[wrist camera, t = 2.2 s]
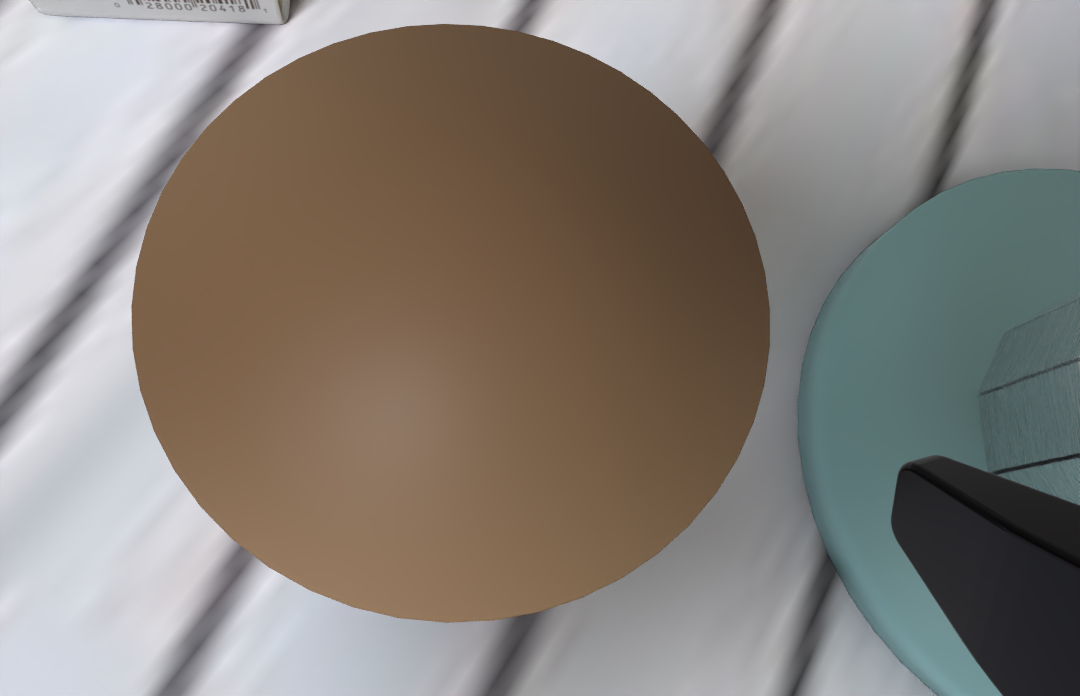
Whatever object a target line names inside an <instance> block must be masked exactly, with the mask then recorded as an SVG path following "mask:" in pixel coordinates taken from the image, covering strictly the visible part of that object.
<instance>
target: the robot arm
mask: <svg viewBox="0 0 1080 696" xmlns="http://www.w3.org/2000/svg"><path fill="white" fill-rule="evenodd" d="M891 527H892V531H893V534H894V536H895V538H896V540H897V542H898V544H899V545H900V547H901V549H902V550H903V552H904V553H905V555H906V556H907V558H908V559H909V561H910V562H911V564H912V565H913V567H914V568H915V570H916V572H917V573H918V575H919V576H920V578H921V579H922V581H923V582H924V584H925V585H926V587H927V588H928V590H929V592H930V593H931V595H932V596H933V598H934V599H935V601H936V602H937V604H938V605H939V607H940V608H941V610H942V611H943V613H944V615H945V616H946V618H947V619H948V621H949V622H950V624H951V625H952V627H953V628H954V630H955V631H956V633H957V634H958V636H959V638H960V639H961V641H962V642H963V644H964V645H965V646H966V648H967V649H968V651H969V652H970V654H971V655H972V656H973V658H974V659H975V661H976V662H977V663H978V665H979V666H980V667H981V669H982V670H983V671H984V673H985V674H986V675H987V677H988V678H989V679H990V681H991V682H992V683H993V684H994V686H995V687H996V688H997V689H998V691H999V692H1000V693H1001V695H1002V696H1080V505H1078V504H1075V503H1073V502H1070V501H1067V500H1064V499H1062V498H1059V497H1056V496H1053V495H1050V494H1048V493H1045V492H1042V491H1039V490H1037V489H1034V488H1031V487H1028V486H1025V485H1023V484H1020V483H1017V482H1014V481H1012V480H1009V479H1006V478H1003V477H1000V476H998V475H995V474H992V473H989V472H987V471H984V470H981V469H978V468H975V467H973V466H970V465H967V464H964V463H962V462H959V461H956V460H953V459H950V458H948V457H944V456H941V455H931V456H928V457H924V458H921V459H917V460H914V461H910V462H907V463H905V464H903V465H902V467H901V468H900V470H899V472H898V475H897V481H896V488H895V494H894V500H893V506H892V513H891Z"/></svg>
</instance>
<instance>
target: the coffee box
mask: <svg viewBox="0 0 1080 696" xmlns="http://www.w3.org/2000/svg"><path fill="white" fill-rule="evenodd" d="M29 1H30V2H31V3H32V5H33V6H34V7H35V8H36V9H37V10H38V11H39V12H40V13H43V14H46V15H58V16H78V17H103V18H127V19H151V20H176V21H202V22H231V23H254V24H275V25H278V24H284V23H285V22H286V21H287V19H288V15H289V9H290V0H29Z"/></svg>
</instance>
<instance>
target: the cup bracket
mask: <svg viewBox="0 0 1080 696" xmlns="http://www.w3.org/2000/svg"><path fill="white" fill-rule="evenodd" d="M798 442H799V449H800V456H801V464H802V471H803V478H804V482H805V486H806V490H807V493H808V497H809V501H810V505H811V509H812V513H813V517H814V519H815V522H816V524H817V527H818V529H819V532H820V535H821V537H822V540H823V542H824V545H825V547H826V550H827V553H828V555H829V557H830V559H831V561H832V563H833V565H834V567H835V569H836V570H837V572H838V574H839V576H840V578H841V580H842V582H843V584H844V586H845V588H846V589H847V591H848V593H849V595H850V596H851V598H852V599H853V601H854V602H855V604H856V605H857V607H858V608H859V609H860V611H861V612H862V614H863V615H864V617H865V618H866V620H867V621H868V623H869V624H870V626H871V627H872V629H873V630H874V631H875V632H876V633H877V635H878V636H879V637H880V638H881V639H882V640H883V642H884V643H885V644H886V645H887V646H888V647H889V649H890V650H891V651H892V652H893V653H894V654H895V656H896V657H897V658H898V659H899V660H900V661H901V663H902V664H903V665H905V666H906V667H907V668H908V669H909V670H910V671H911V672H912V673H913V674H914V675H915V676H916V677H918V678H919V679H920V680H921V681H922V682H923V683H924V684H925V685H926V686H927V687H928V688H929V689H931V690H932V691H933V692H934V693H935V694H936V695H938V696H1002V695H1001V693H1000V692H999V691H998V689H997V688H996V687H995V686H994V684H993V683H992V682H991V681H990V679H989V678H988V677H987V675H986V674H985V673H984V671H983V670H982V669H981V667H980V666H979V665H978V663H977V662H976V661H975V659H974V658H973V656H972V655H971V654H970V652H969V651H968V649H967V648H966V646H965V645H964V644H963V642H962V641H961V639H960V638H959V636H958V634H957V633H956V631H955V630H954V628H953V627H952V625H951V624H950V622H949V621H948V619H947V618H946V616H945V615H944V613H943V611H942V610H941V608H940V607H939V605H938V604H937V602H936V601H935V599H934V598H933V596H932V595H931V593H930V592H929V590H928V588H927V587H926V585H925V584H924V582H923V581H922V579H921V578H920V576H919V575H918V573H917V572H916V570H915V568H914V567H913V565H912V564H911V562H910V561H909V559H908V558H907V556H906V555H905V553H904V552H903V550H902V549H901V547H900V545H899V544H898V542H897V540H896V538H895V536H894V534H893V531H892V527H891V513H892V506H893V500H894V494H895V488H896V481H897V475H898V472H899V470H900V468H901V467H902V465H903V464H905V463H907V462H910V461H914V460H917V459H921V458H924V457H928V456H931V455H941V456H944V457H948V458H950V459H953V460H956V461H959V462H962V463H964V464H967V465H970V466H973V467H975V468H978V469H981V470H984V471H987V472H989V473H992V474H995V475H998V476H1000V477H1003V478H1006V479H1009V480H1012V481H1014V482H1017V483H1020V484H1023V485H1025V486H1028V487H1031V488H1034V489H1037V490H1039V491H1042V492H1045V493H1048V494H1050V495H1053V496H1056V497H1059V498H1062V499H1064V500H1067V501H1070V502H1073V503H1075V504H1078V505H1080V171H1073V170H1063V169H1027V170H1017V171H1008V172H1001V173H996V174H992V175H988V176H984V177H980V178H976V179H972V180H970V181H967V182H965V183H962V184H960V185H958V186H955V187H953V188H950V189H948V190H945V191H943V192H941V193H940V194H938V195H936V196H935V197H933V198H931V199H930V200H928V201H926V202H925V203H923V204H921V205H920V206H918V207H916V208H915V209H914V210H913V211H911V212H910V213H909V214H908V215H906V216H905V217H904V218H903V219H901V220H900V221H899V222H898V223H896V224H895V225H894V226H893V227H892V228H890V229H889V230H888V231H887V232H885V233H884V234H883V235H882V236H880V237H879V238H878V239H877V240H876V241H875V242H873V243H872V244H871V245H870V246H869V247H867V248H866V249H865V250H864V251H863V252H862V253H860V255H859V256H858V257H857V258H856V259H855V260H854V262H853V263H852V264H851V265H850V266H849V267H848V268H847V270H846V271H845V272H844V273H843V274H842V275H841V277H840V278H839V280H838V281H837V283H836V285H835V286H834V288H833V289H832V291H831V293H830V294H829V296H828V297H827V299H826V301H825V302H824V304H823V307H822V309H821V311H820V313H819V316H818V318H817V320H816V323H815V325H814V327H813V330H812V332H811V335H810V339H809V343H808V346H807V350H806V354H805V357H804V361H803V365H802V372H801V380H800V388H799V396H798Z"/></svg>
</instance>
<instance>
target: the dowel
mask: <svg viewBox="0 0 1080 696" xmlns="http://www.w3.org/2000/svg"><path fill="white" fill-rule="evenodd" d="M132 338H133V352H134V358H135V364H136V369H137V375H138V380H139V386H140V391H141V394H142V397H143V400H144V403H145V406H146V408H147V411H148V414H149V417H150V420H151V423H152V426H153V429H154V432H155V434H156V436H157V437H158V439H159V441H160V443H161V445H162V447H163V449H164V451H165V453H166V455H167V457H168V459H169V461H170V463H171V465H172V467H173V469H174V470H175V472H176V473H177V474H178V476H179V477H180V479H181V480H182V481H183V483H184V484H185V486H186V487H187V488H188V490H189V491H190V493H191V494H192V495H193V497H194V498H195V499H196V501H197V502H198V504H199V505H200V506H201V507H202V508H203V509H204V511H205V512H206V513H207V514H208V515H209V516H210V517H211V518H212V519H213V520H214V521H215V522H216V523H217V524H218V525H219V526H220V527H221V528H222V529H223V530H224V531H225V532H226V533H227V534H228V535H229V536H230V537H231V538H232V539H233V540H234V541H235V542H237V543H238V544H239V545H241V546H242V547H243V548H245V549H246V550H247V551H248V552H250V553H251V554H252V555H254V556H255V557H256V558H258V559H259V560H260V561H261V562H263V563H264V564H265V565H267V566H268V567H269V568H271V569H273V570H275V571H277V572H278V573H280V574H282V575H284V576H285V577H287V578H289V579H291V580H293V581H294V582H296V583H298V584H300V585H301V586H303V587H305V588H307V589H309V590H311V591H313V592H316V593H318V594H321V595H323V596H326V597H329V598H331V599H334V600H336V601H339V602H341V603H344V604H347V605H349V606H352V607H355V608H359V609H363V610H367V611H372V612H376V613H380V614H384V615H389V616H393V617H397V618H404V619H415V620H426V621H436V622H468V621H490V620H498V619H503V618H509V617H514V616H520V615H525V614H530V613H536V612H540V611H543V610H546V609H549V608H552V607H555V606H558V605H561V604H564V603H567V602H570V601H573V600H576V599H579V598H582V597H584V596H586V595H588V594H590V593H592V592H594V591H596V590H598V589H600V588H602V587H605V586H607V585H609V584H611V583H613V582H615V581H617V580H619V579H621V578H623V577H624V576H625V575H627V574H628V573H630V572H631V571H633V570H634V569H636V568H637V567H639V566H640V565H642V564H643V563H645V562H646V561H648V560H649V559H650V558H652V557H653V556H655V555H656V554H658V553H659V552H660V551H661V550H662V549H663V548H665V547H666V546H667V545H668V544H669V543H670V542H671V541H672V540H673V539H674V538H676V537H677V536H678V535H679V534H680V533H681V532H682V531H683V530H684V529H685V528H687V527H688V526H689V525H690V524H691V522H692V521H693V520H694V519H695V518H696V516H697V515H698V514H699V513H700V512H701V510H702V509H703V508H704V507H705V506H706V504H707V503H708V502H709V501H710V500H711V498H712V497H713V496H714V495H715V494H716V492H717V491H718V489H719V488H720V486H721V484H722V483H723V481H724V479H725V478H726V476H727V475H728V473H729V471H730V470H731V468H732V467H733V465H734V463H735V462H736V460H737V458H738V456H739V454H740V452H741V449H742V447H743V445H744V443H745V440H746V438H747V436H748V434H749V431H750V429H751V427H752V425H753V422H754V419H755V415H756V412H757V408H758V405H759V401H760V398H761V394H762V391H763V387H764V383H765V376H766V368H767V361H768V354H769V347H770V308H769V300H768V292H767V285H766V277H765V271H764V267H763V263H762V260H761V256H760V252H759V248H758V245H757V241H756V237H755V234H754V232H753V230H752V227H751V225H750V222H749V220H748V217H747V215H746V212H745V210H744V207H743V205H742V203H741V201H740V199H739V197H738V196H737V194H736V192H735V190H734V188H733V187H732V185H731V183H730V181H729V179H728V178H727V176H726V174H725V172H724V171H723V169H722V168H721V167H720V165H719V164H718V162H717V161H716V160H715V158H714V157H713V156H712V154H711V153H710V152H709V150H708V149H707V147H706V146H705V145H704V143H703V142H702V141H701V140H700V139H699V138H698V137H697V135H696V134H695V133H694V132H693V131H692V130H691V129H690V128H689V127H688V126H687V125H686V124H685V123H684V122H683V120H682V119H681V118H680V117H679V116H678V115H677V114H676V113H674V112H673V111H672V110H671V109H670V108H669V107H667V106H666V105H665V104H664V103H663V102H662V101H660V100H659V99H658V98H657V97H656V96H655V95H653V94H652V93H651V92H650V91H648V90H647V89H645V88H644V87H642V86H641V85H639V84H638V83H636V82H635V81H633V80H632V79H630V78H629V77H627V76H626V75H625V74H623V73H622V72H620V71H618V70H616V69H614V68H612V67H611V66H609V65H607V64H605V63H603V62H601V61H599V60H597V59H595V58H593V57H591V56H590V55H588V54H585V53H583V52H580V51H577V50H575V49H572V48H570V47H567V46H565V45H562V44H560V43H557V42H554V41H551V40H547V39H544V38H540V37H536V36H533V35H529V34H525V33H522V32H518V31H511V30H505V29H499V28H492V27H486V26H475V25H453V24H438V25H421V26H406V27H401V28H395V29H389V30H384V31H378V32H372V33H368V34H365V35H361V36H358V37H354V38H351V39H348V40H344V41H341V42H337V43H334V44H332V45H329V46H327V47H324V48H322V49H320V50H317V51H315V52H313V53H310V54H308V55H306V56H303V57H301V58H299V59H297V60H295V61H293V62H292V63H290V64H288V65H286V66H285V67H283V68H281V69H279V70H278V71H276V72H274V73H272V74H271V75H269V76H267V77H265V78H264V79H263V80H261V81H260V82H259V83H257V84H256V85H255V86H253V87H252V88H251V89H249V90H248V91H247V92H245V93H244V94H243V95H241V96H240V97H239V98H237V99H236V100H235V101H234V102H233V103H232V104H231V105H229V106H228V107H227V108H226V109H225V110H224V111H223V112H222V113H221V114H220V115H219V116H218V117H217V118H216V119H215V120H214V121H213V122H212V123H211V124H210V125H209V126H208V127H207V128H206V129H205V130H204V132H203V133H202V134H201V135H200V137H199V138H198V139H197V140H196V142H195V143H194V144H193V145H192V147H191V148H190V149H189V150H188V152H187V153H186V154H185V155H184V157H183V158H182V160H181V161H180V163H179V164H178V166H177V168H176V169H175V171H174V173H173V174H172V176H171V178H170V179H169V181H168V183H167V184H166V186H165V188H164V189H163V191H162V193H161V196H160V198H159V200H158V203H157V205H156V207H155V210H154V212H153V214H152V217H151V219H150V221H149V224H148V226H147V229H146V233H145V236H144V240H143V244H142V248H141V251H140V255H139V259H138V262H137V266H136V274H135V283H134V291H133V300H132Z"/></svg>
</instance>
